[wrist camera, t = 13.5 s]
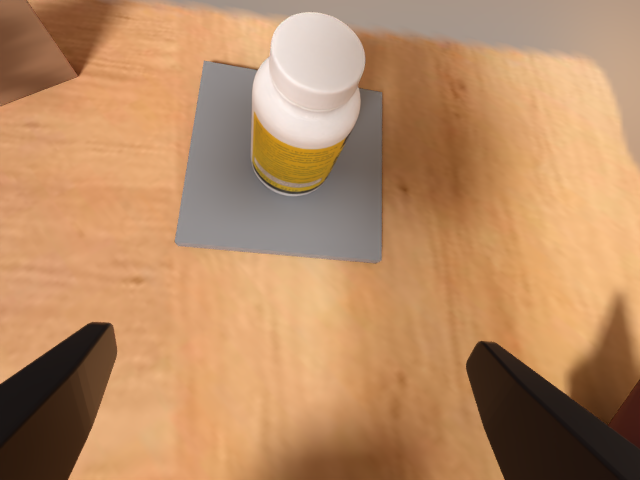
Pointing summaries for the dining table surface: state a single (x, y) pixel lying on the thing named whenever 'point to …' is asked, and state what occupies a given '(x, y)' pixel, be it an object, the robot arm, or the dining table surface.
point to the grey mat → (266, 205)
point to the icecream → (629, 417)
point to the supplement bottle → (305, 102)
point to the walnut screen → (27, 53)
